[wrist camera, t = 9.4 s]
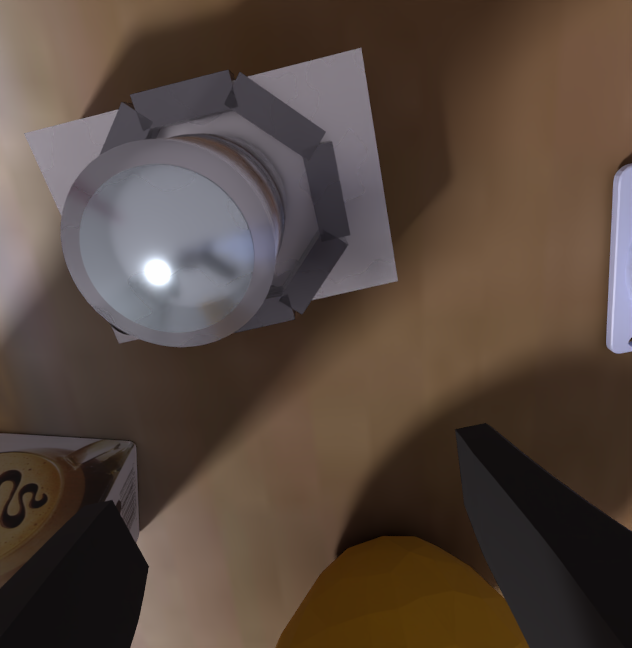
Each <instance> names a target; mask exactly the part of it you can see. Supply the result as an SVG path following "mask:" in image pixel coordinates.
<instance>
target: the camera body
mask: <svg viewBox="0 0 632 648" xmlns="http://www.w3.org/2000/svg"><path fill="white" fill-rule="evenodd" d="M130 96H131V99H132V102H133V104H131V103H125V102H121V105H120V107H119V109H118V110H114V111H110V112H106V113H102V114H99V115H95V116H91V117H87V118H83V119H79V120H75V121H71V122H67V123H63V124H59V125H55V126H51V127H47V128H43V129H39V130H36V131H32V132H28V133H24V134H25V136H26V139H27V141H28V143H29V145H30V147H31V150H32V152H33V154H34V156H35V159H36V161H37V163H38V165H39V167H40V170H41V172H42V174H43V176H44V178H45V181H46V183H47V185H48V187H49V190H50V192H51V194H52V196H53V198H54V201H55V203H56V205H57V207H58V209H59V212H60V214H61V216H62V211H63V207H64V204H65V201H66V197H67V195H68V193H69V191H70V189H71V186H72V184H73V183H74V181H75V180H76V179H77V177H78V176H79V174H80V173H81V172H82V171H83V170H84V169H85V167H86V166H87V165H88V164H89V163H90V162H92V161H93V160H94V159H96V158H97V157H98V156H99V155H101V154H103V153H104V152H106V151H108V150H110V149H112V148H114V147H116V146H119V145H122V144H125V143H128V142H133V141H138V140H146V139H159V138H170V137H173V136H178V135H183V134H200V133H206V134H219V135H228V136H232V137H236V138H239V139H241V140H244V141H246V142H248V143H250V144H251V145H253V146H254V147H256V148H257V149H259V150H260V151H261V152H262V153H263V154H264V155H265V156H266V157H267V158H268V159H269V160H270V161H271V163H272V164H273V165H274V167H275V169H276V170H277V172H278V174H279V176H280V178H281V181H282V184H283V187H284V191H285V196H286V214H285V216H286V217H285V229H284V234H283V240H282V245H281V248H280V251H279V254H278V256H277V260H276V265H275V270H274V275H273V280H272V283H271V286H270V289H269V292H268V294H267V296H266V298H265V300H264V302H263V304H262V305H261V307H260V308H259V309H258V311H257V312H256V314H255V315H254V316H253V317H252V318H251V319H250V320H249V321H248V322H247V323H246V324H245V325H243V326H242V327H241V328H240V329H239V330H237V331H235V332H234V333H237V332H241V331H245V330H250V329H254V328H259V327H263V326H268V325H272V324H277V323H281V322H286V321H290V320H295V311H297V312H299V313H300V314H303V313H304V311H305V310H306V308H307V307H308V305H309V304H310V302H311V301H312V300H315V299H320V298H324V297H329V296H333V295H338V294H342V293H347V292H351V291H355V290H360V289H364V288H369V287H373V286H378V285H382V284H387V283H391V282H396V281H398V278H397V272H396V266H395V259H394V253H393V247H392V240H391V234H390V228H389V221H388V215H387V208H386V202H385V196H384V189H383V183H382V177H381V170H380V164H379V158H378V151H377V145H376V139H375V132H374V126H373V119H372V113H371V107H370V100H369V94H368V88H367V81H366V75H365V69H364V62H363V56H362V50H361V48H358V49H354V50H350V51H346V52H342V53H338V54H335V55H331V56H327V57H323V58H319V59H315V60H311V61H307V62H303V63H299V64H295V65H291V66H287V67H283V68H279V69H276V70H272V71H268V72H264V73H260V74H256V75H252V76H248V77H246V76H245V75H244V74H242V73H241V72H239V74H238V76H237V78H236V80H235V78H234V75H233V73H232V72H231V71H229V70H225V71H221V72H217V73H213V74H209V75H205V76H201V77H197V78H193V79H190V80H186V81H182V82H178V83H174V84H170V85H166V86H162V87H158V88H154V89H150V90H147V91H143V92H139V93H135V94H131V95H130ZM110 325H111V327H112V329H113V331H114V333H115V336H116V338H117V340H118V342H119V344H120V343H124V342H129V341H133V340H137V339H138V338H136V337H133V336H131V335H129V334H127V333H125V332H123V331H122V330H120V329H118V328H117V327H115V326H114V325H112V324H111V323H110Z"/></svg>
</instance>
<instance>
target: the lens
mask: <svg viewBox="0 0 632 648" xmlns="http://www.w3.org/2000/svg"><path fill="white" fill-rule="evenodd" d="M285 214H286V196H285V191H284V187H283V184H282V181H281V178H280V176H279V174H278V172H277V170H276V169H275V167H274V165H273V164H272V163H271V161H270V160H269V159H268V158H267V157H266V156H265V155H264V154H263V153H262V152H261V151H260V150H259V149H257V148H256V147H254V146H253V145H251V144H250V143H248V142H246V141H244V140H241V139H239V138H236V137H232V136H228V135H219V134H206V133H200V134H183V135H178V136H173V137H170V138H159V139H146V140H138V141H133V142H128V143H125V144H122V145H119V146H116V147H114V148H112V149H110V150H108V151H106V152H104V153H103V154H101V155H99V156H98V157H97V158H96V159H94V160H93V161H92V162H90V163H89V164H88V165H87V166H86V167H85V169H84V170H83V171H82V172H81V173H80V174H79V176H78V177H77V179H76V180H75V181H74V183H73V184H72V186H71V189H70V191H69V193H68V195H67V197H66V201H65V204H64V207H63V211H62V219H61V242H62V249H63V254H64V258H65V261H66V265H67V267H68V270H69V272H70V274H71V277H72V279H73V281H74V282H75V284H76V286H77V288H78V289H79V291H80V292H81V294H82V295H83V296H84V298H85V299H86V300H87V302H88V303H89V304H90V305H91V306H92V307H93V308H94V309H95V310H96V312H98V313H99V314H100V315H101V316H102V317H103V318H104V319H106V320H107V321H108V322H109V323H111V324H112V325H114V326H115V327H117V328H118V329H120V330H122V331H123V332H125V333H127V334H129V335H131V336H133V337H136V338H138V339H141V340H143V341H146V342H150V343H153V344H158V345H163V346H171V347H193V346H199V345H205V344H208V343H212V342H215V341H218V340H220V339H222V338H225V337H227V336H229V335H230V334H232V333H234V332H235V331H237V330H239V329H240V328H241V327H242V326H243V325H245V324H246V323H247V322H248V321H249V320H250V319H251V318H252V317H253V316H254V315H255V314H256V312H257V311H258V309H259V308H260V307H261V305H262V304H263V302H264V300H265V298H266V296H267V294H268V292H269V289H270V286H271V283H272V280H273V275H274V270H275V265H276V260H277V256H278V254H279V251H280V248H281V245H282V240H283V234H284V229H285V217H286V216H285Z"/></svg>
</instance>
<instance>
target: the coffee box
mask: <svg viewBox="0 0 632 648" xmlns="http://www.w3.org/2000/svg"><path fill="white" fill-rule="evenodd" d="M109 500H113V502H114V504H115V506H116V507H117V509H118V511H119V513H120V515H121V517H122V518H123V520H124V522H125V524H126V526H127V528H128V529H129V531H130V533H131V535H132V537H133V539H134V540H135V542H137V539H138V537H139V507H138V479H137V452H136V445H135V444H134V443H133V442H131V441H122V440H106V439H90V438H74V437H57V436H41V435H25V434H8V433H0V588H1V587H2V586H3V585H4V584H5V583H6V582H7V581H8V580H9V579H10V578H11V577H12V576H13V575H14V574H15V573H16V572H17V571H18V570H19V569H20V568H21V567H22V566H23V565H24V564H25V563H26V562H27V561H28V560H29V559H30V558H31V557H32V556H33V555H34V554H35V553H36V552H37V551H38V550H39V549H40V548H41V547H42V546H43V545H44V544H45V543H46V542H47V541H48V540H49V539H50V538H51V537H52V536H53V535H54V534H55V533H56V532H57V531H58V530H59V529H60V528H61V527H62V526H63V525H64V524H65V523H66V522H67V521H68V520H69V519H70V518H71V517H73V516H74V515H75V514H76V513H77V512H78V511H79V510H80V509H81V508H82V507H84V506H85V505H89V504H94V503H99V502H104V501H109Z"/></svg>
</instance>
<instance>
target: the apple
mask: <svg viewBox="0 0 632 648" xmlns="http://www.w3.org/2000/svg"><path fill="white" fill-rule="evenodd" d="M275 648H530V647H529V645H528V643H527V641H526V639H525V638H524V636H523V634H522V632H521V630H520V628H519V626H518V624H517V622H516V620H515V618H514V616H513V614H512V612H511V610H510V608H509V606H508V604H507V602H506V600H505V599H504V598H503V597H502V596H501V595H500V594H499V593H498V592H497V591H496V590H495V589H494V588H493V587H491V586H490V585H489V584H488V583H487V582H486V581H485V580H484V579H483V578H482V577H481V576H480V575H479V574H478V573H477V572H476V571H475V570H474V569H472V568H471V567H470V566H469V565H467V564H465V563H464V562H462V561H460V560H459V559H457V558H456V557H454V556H452V555H451V554H449V553H447V552H446V551H444V550H443V549H441V548H439V547H438V546H435V545H433V544H431V543H429V542H427V541H424V540H422V539H420V538H418V537H416V536H381V537H378V538H375V539H373V540H370V541H367V542H364V543H361V544H359V545H356V546H353V547H350V548H348V549H346V550H345V551H344V552H343V553H342V554H341V555H340V556H339V557H338V558H337V559H336V560H335V561H333V562H332V563H331V564H330V565H329V566H328V567H327V568H326V569H325V570H324V571H323V572H322V573H321V574H320V576H319V577H318V579H317V580H316V582H315V583H314V585H313V586H312V588H311V589H310V591H309V592H308V594H307V596H306V597H305V599H304V600H303V602H302V603H301V605H300V606H299V608H298V609H297V611H296V612H295V614H294V615H293V617H292V619H291V620H290V622H289V623H288V625H287V626H286V628H285V629H284V631H283V632H282V634H281V636H280V638H279V640H278V643H277V645H276V647H275Z"/></svg>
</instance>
